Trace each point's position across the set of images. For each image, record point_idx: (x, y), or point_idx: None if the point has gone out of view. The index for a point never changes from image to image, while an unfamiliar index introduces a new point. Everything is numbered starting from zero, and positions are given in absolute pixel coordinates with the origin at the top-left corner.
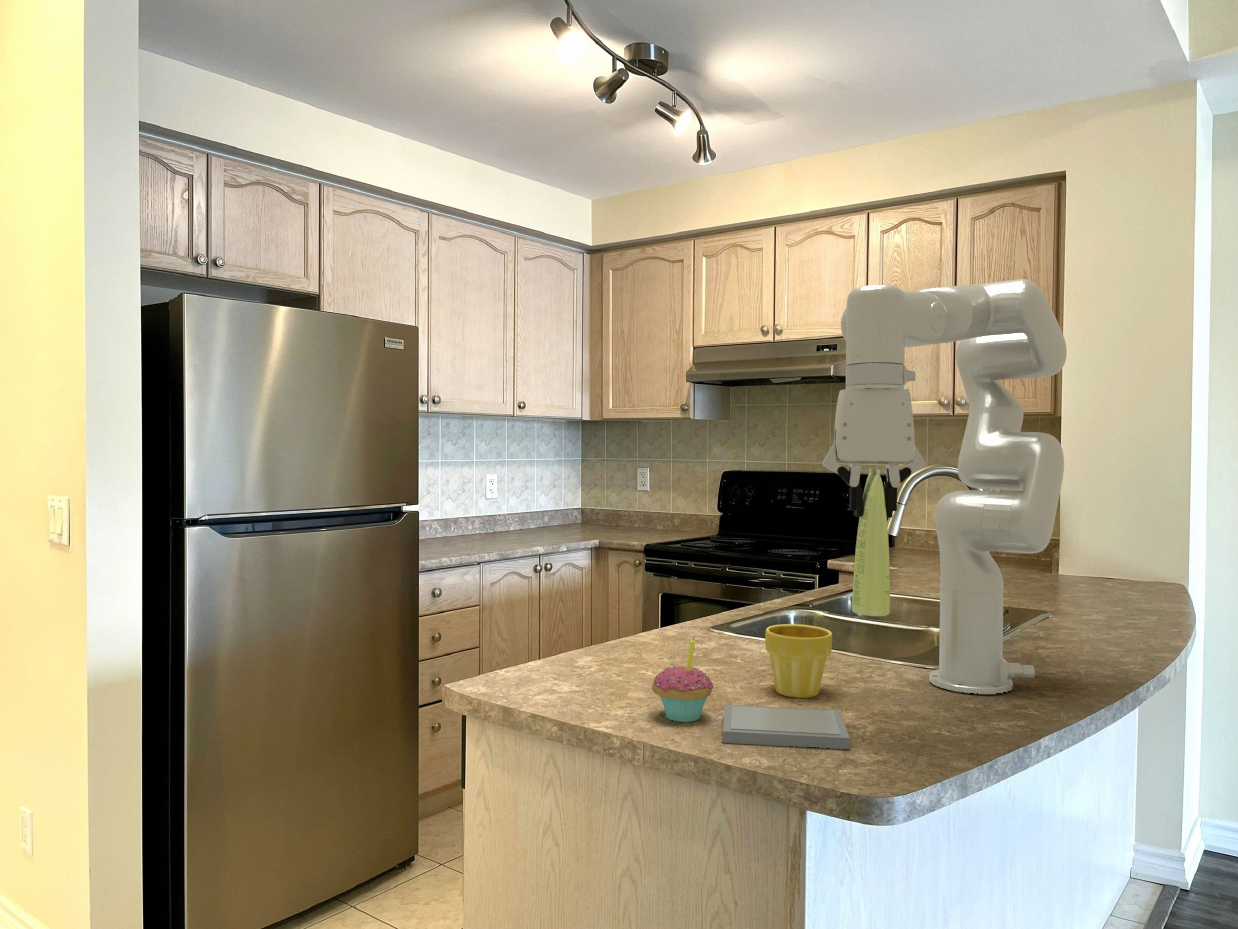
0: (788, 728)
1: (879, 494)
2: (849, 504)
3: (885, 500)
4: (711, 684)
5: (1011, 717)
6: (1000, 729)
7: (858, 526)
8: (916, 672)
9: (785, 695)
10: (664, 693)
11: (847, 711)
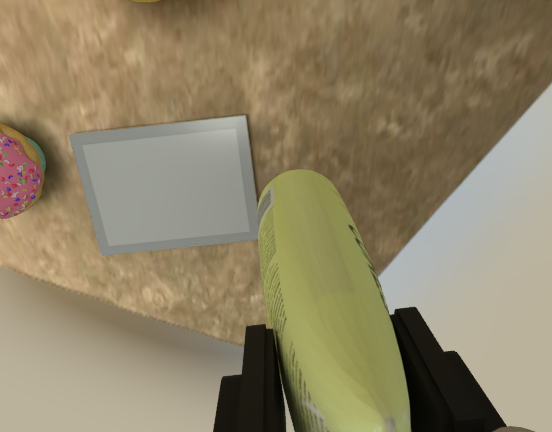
0: (181, 226)
1: None
2: (220, 388)
3: (414, 422)
4: (35, 175)
5: (520, 12)
6: (479, 88)
7: (269, 324)
8: None
9: None
10: None
11: (257, 55)
